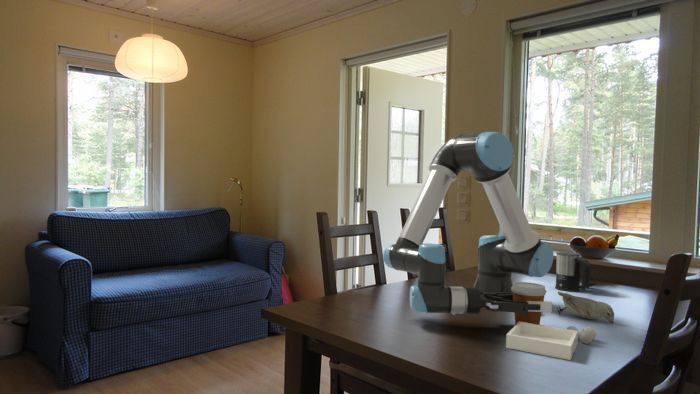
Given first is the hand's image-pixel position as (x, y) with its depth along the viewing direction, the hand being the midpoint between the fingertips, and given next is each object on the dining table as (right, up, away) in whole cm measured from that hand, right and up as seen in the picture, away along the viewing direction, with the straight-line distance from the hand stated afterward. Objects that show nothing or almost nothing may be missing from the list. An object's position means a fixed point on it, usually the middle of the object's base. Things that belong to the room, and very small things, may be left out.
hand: (544, 303), depth 137 cm
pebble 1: (+4, -8, -9) cm, 12 cm away
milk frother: (+37, -8, +60) cm, 71 cm away
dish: (-7, -7, -16) cm, 18 cm away
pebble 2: (+5, -8, -13) cm, 16 cm away
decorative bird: (+18, -8, +13) cm, 23 cm away
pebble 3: (+8, -8, -9) cm, 14 cm away
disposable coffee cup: (-5, -7, 0) cm, 9 cm away
